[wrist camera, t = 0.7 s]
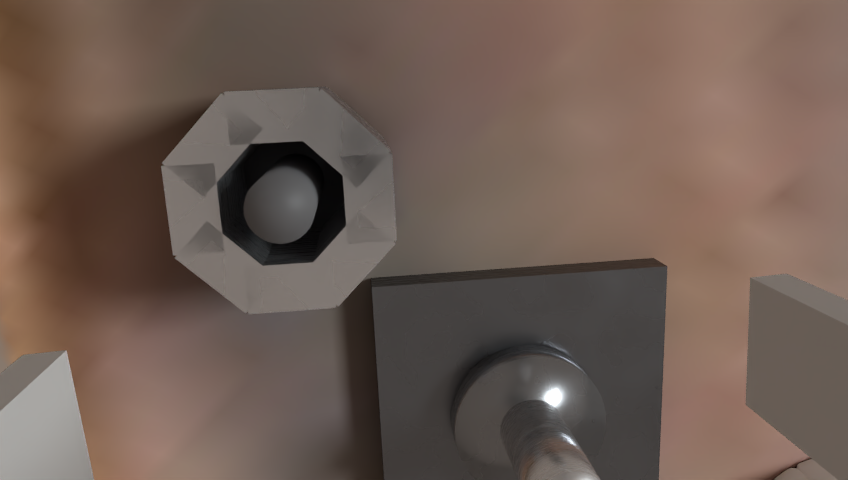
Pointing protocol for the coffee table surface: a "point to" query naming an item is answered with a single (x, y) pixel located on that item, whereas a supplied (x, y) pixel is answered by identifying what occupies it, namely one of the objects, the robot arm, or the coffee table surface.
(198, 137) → the grey octagonal holder
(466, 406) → the square peg base
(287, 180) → the stand
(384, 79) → the coffee table surface
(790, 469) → the decorative vase
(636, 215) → the coffee table surface
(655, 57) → the coffee table surface
